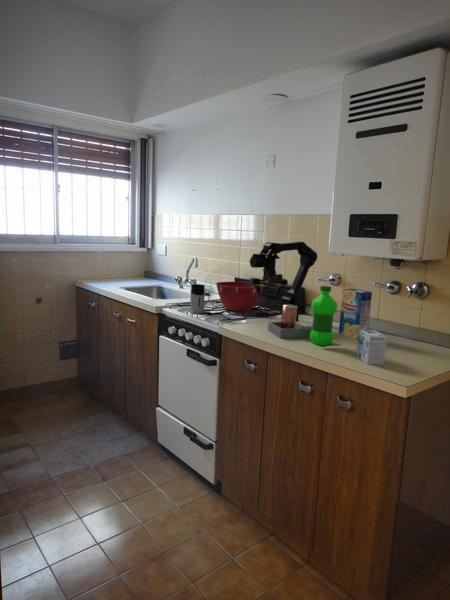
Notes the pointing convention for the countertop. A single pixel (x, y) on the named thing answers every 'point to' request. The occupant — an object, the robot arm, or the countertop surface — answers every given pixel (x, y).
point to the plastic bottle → (323, 317)
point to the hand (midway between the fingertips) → (267, 298)
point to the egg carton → (303, 325)
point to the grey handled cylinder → (197, 298)
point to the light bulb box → (371, 347)
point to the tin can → (288, 316)
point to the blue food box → (354, 312)
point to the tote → (288, 331)
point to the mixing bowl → (238, 295)
